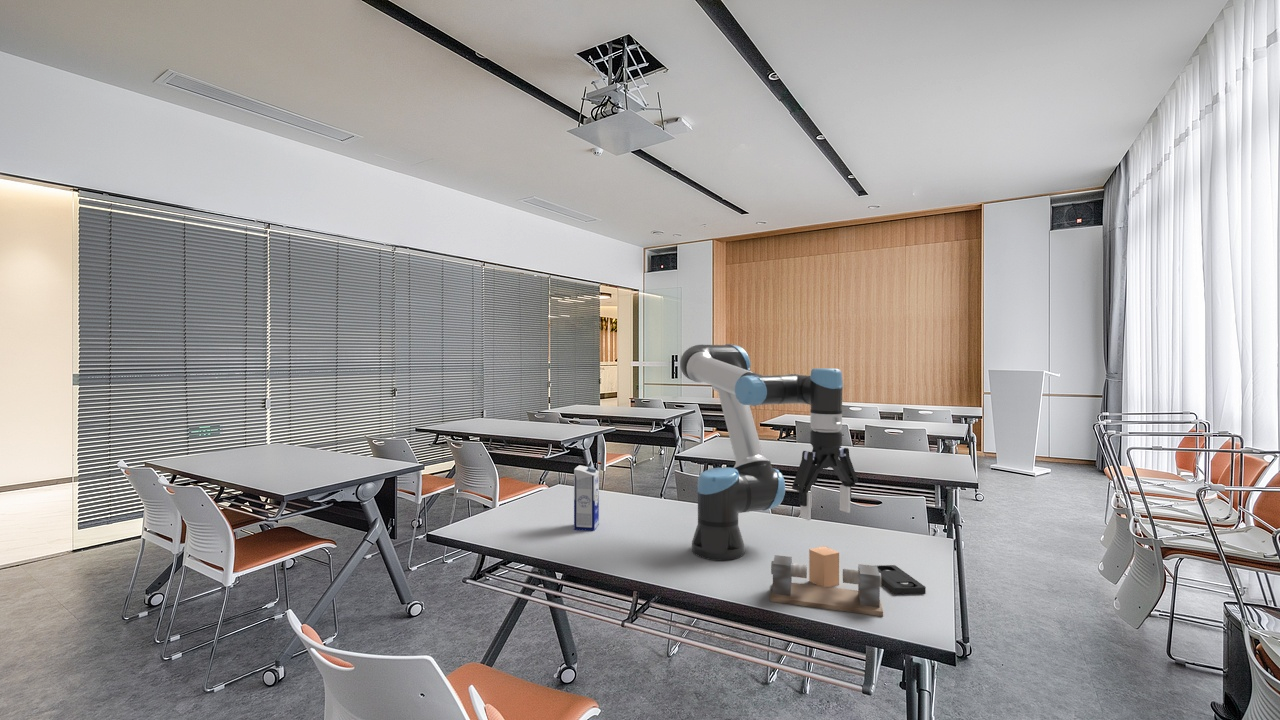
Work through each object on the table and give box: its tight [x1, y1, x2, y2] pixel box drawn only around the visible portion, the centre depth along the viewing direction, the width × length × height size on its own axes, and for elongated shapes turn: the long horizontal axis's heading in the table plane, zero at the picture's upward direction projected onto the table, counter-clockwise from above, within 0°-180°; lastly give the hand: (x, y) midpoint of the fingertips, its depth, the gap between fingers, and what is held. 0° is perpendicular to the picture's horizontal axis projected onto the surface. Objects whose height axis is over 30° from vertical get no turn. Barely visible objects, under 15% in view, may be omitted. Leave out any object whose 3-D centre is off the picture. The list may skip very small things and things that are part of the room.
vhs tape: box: [876, 564, 927, 596], centre depth 139 cm, size 14×8×2 cm, turn 4°
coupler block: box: [808, 545, 840, 588], centre depth 138 cm, size 5×5×8 cm
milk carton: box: [573, 464, 600, 532], centre depth 183 cm, size 7×7×20 cm
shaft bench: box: [769, 554, 884, 617], centre depth 129 cm, size 24×10×8 cm, turn 72°
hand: (825, 515), depth 139 cm, fingers open, 13 cm apart
